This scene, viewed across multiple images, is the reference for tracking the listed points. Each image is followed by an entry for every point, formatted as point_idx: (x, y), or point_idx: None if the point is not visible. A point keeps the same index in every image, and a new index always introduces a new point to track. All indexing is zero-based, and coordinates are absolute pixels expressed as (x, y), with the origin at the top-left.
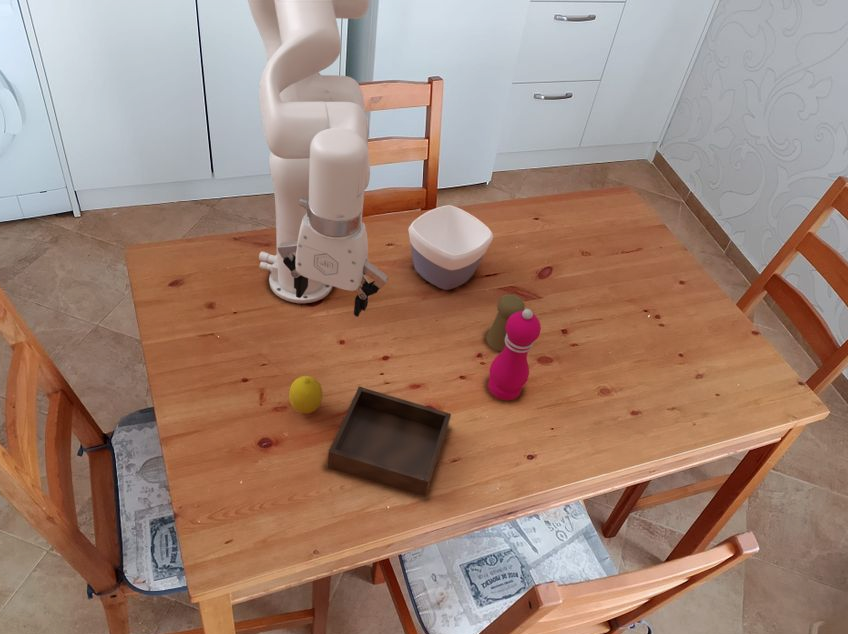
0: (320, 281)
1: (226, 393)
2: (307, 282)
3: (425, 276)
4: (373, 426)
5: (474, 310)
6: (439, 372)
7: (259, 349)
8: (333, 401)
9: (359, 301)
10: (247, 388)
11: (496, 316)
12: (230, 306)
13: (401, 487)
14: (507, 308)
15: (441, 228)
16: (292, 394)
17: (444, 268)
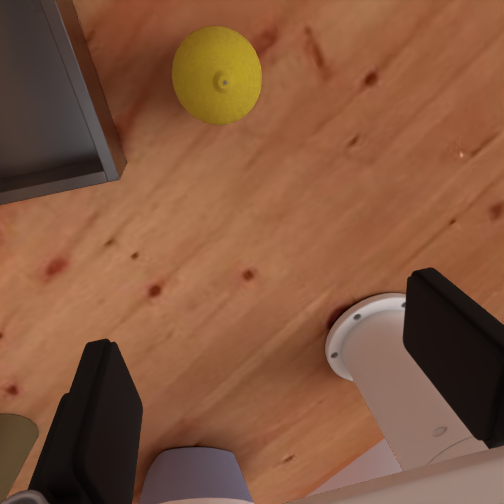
0: (408, 495)
1: (391, 17)
2: (421, 363)
3: (203, 454)
4: (42, 116)
5: None
6: (42, 321)
7: (378, 171)
8: (172, 134)
9: (54, 454)
10: (356, 59)
11: (2, 485)
12: (465, 229)
13: None
14: None
15: None
16: (240, 36)
17: (165, 501)
